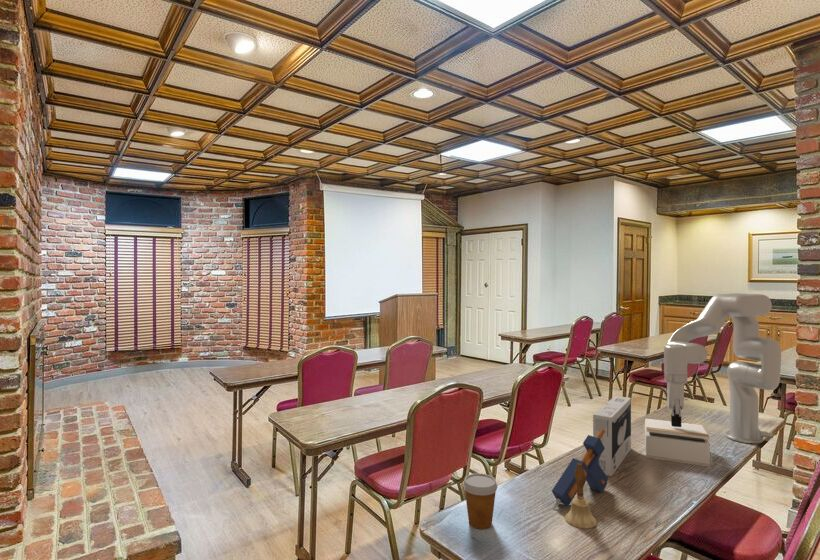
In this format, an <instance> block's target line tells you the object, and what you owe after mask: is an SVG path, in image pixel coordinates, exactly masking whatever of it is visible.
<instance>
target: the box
mask: <svg viewBox="0 0 820 560" xmlns="http://www.w3.org/2000/svg"><path fill="white" fill-rule="evenodd" d="M644 446H645V447H644V448H645V456H646V458H648V459H649V458H650V459H654V460H661V461H666V462H667V461H669V462H675V463H682V464H689V465H693V466H703V467H708V468H709V467H711V443H710V442H709V439H701V438H693V437H685V436H677V435H669V434H662V433H654V432H647V429H646V422H645V421H644Z"/></svg>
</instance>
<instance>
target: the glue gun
mask: <svg viewBox="0 0 820 560" xmlns="http://www.w3.org/2000/svg"><path fill="white" fill-rule="evenodd" d="M604 433H605V430H603V429H601V430H600V432H599V433H598V435H597V437H593V435H589V434H588V435H587V436H586V437H585V439H584V441H583V442H582V444H583V446H584V448H585V451H586V452H585V453H584V455H583V457H582V459H581V460H579V459H577V458H574V457H572V459H571V460H570V462H569V464H568V465H567V466H566V467H565V470H564V471H563V473H562V474H561V476H560V477H559V479H558V481H557V482H556V483H555V485H554V486H553V488H552V489H551V492H552V494H553V496H554V497H555V498H554V499H556V500H555V502H554V505H553V507H552V510H555V508H556V507H557V506H558V505H559V504H561V503H562V504H564V505H565V506H567V507H569V506H570V505H571V504H572V500H573V499H574V498H575V497H576V496H577V483H576V480H575V470H576V467H577V463H581V464H582V466H583V469H584V473H585V480H584V484H583V488H584V487H585V484H586V483H587V485H588V487H589V488H590V489H593V490H594V491H597V492H599V493H603V492H604V491H605V489H606V487H607V485H608V475H605V473H604V472H603V470H602V469H601V467H600V465H599V458H600V456H601V454H602V452H603V451H604V449H605V447H604V446H603V444H602V442H601V440H600V439H601V438H602V436H603V435H604Z"/></svg>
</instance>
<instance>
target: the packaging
mask: <svg viewBox="0 0 820 560" xmlns="http://www.w3.org/2000/svg"><path fill="white" fill-rule="evenodd" d="M601 429H603V430H605V433H604V435H603V436H602V438H601V439H600V440H601V442H602V444H603V446H604V447H605V449H604V451H603V452H602V454H601V456H600V458H599V465H600V467H601V469H602V470H603V472H604V473H605V475H606V476H608V475H609V476H608V477H612V476H613V475H614V474H615V472H616V471H617V470H618V468H619V467H620V466H621V464H622V463H623V461H624V460H625V458H626V457H627V456H628V454H629V453H630V451H631V450H632V398H631V397H626V396H621V395H620V396H619V395H614V396H613V397H612V398H610V399H609V401H607V402H606V404H604V405H603V406H601V407H600V408H599V409H598V410H597V411H596V412H595V413H594V414H593V415H592V430H593V431H592V433H593V434H592V436H593V437H597V435H598V433H599V432H600V430H601Z"/></svg>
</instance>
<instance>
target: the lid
mask: <svg viewBox="0 0 820 560" xmlns="http://www.w3.org/2000/svg"><path fill="white" fill-rule="evenodd" d="M645 422H646V429H647V432H654V433H662V434H669V435H677V436H685V437H693V438H701V439H708V440H710V436H709V434H708V432H707V431H706V429H705V428H704V426H703V425H702V424H698V423H697V424H696V423H694V424H693V423H689V422H688V423H687V422H681V427H674V426H672V425H671V420H661V419H653V418H652V419H651V418H645V421H644V423H645Z"/></svg>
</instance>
